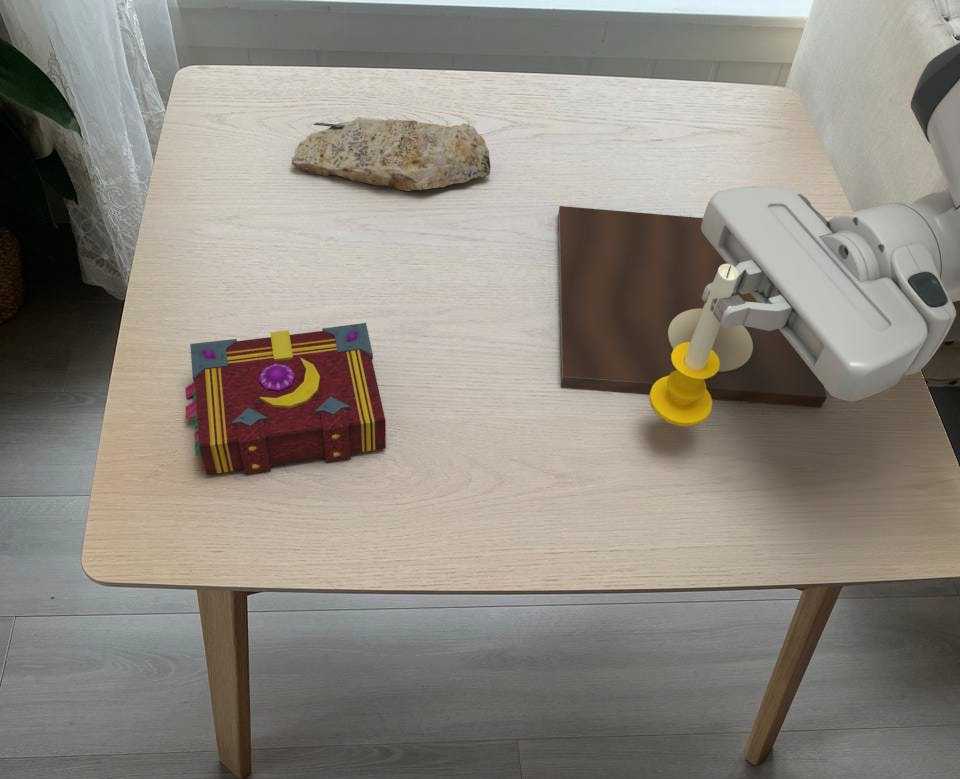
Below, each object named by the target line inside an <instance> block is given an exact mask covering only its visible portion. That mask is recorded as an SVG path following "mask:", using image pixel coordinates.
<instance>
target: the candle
mask: <svg viewBox="0 0 960 779" xmlns="http://www.w3.org/2000/svg"><path fill="white" fill-rule="evenodd" d="M737 277H738V271H737V269H736V268H735V267H734V266H732V265H730V264H723V265H721V266H720V267H719V269H718V272H717V274H716V276H715V278H714V281H713V283H712V286H711V288H710V295H709V297H708V300H707V302H706V303H705V305H704V307H703V310H702V313H701V316H700V318H699V321H698V324H697V327H696V329H695V332H694V335H693V337H692V340H691V342H686V343H682V344H680V345H678V346H676V347H675V348H674V350H673V352H672V354H671V360H672V363H673V365H674V367H675V368H676V369H677V370H675V371H674V372H672V373H671V374H670V375H669V376H666V377H662V378H661V379H659V380H657V381H656V382H655V384H654V385H653V386H652V389H651V391H650V394H649V398H648V399H649V403H650V406H651V409H652V410H653V411H654V413H655V414H656V415H657V416H658V417H659V418H661V419H662V420H664V421H666V422H667V423H669V424H672V425H674V426H679V427H693V426H696V425H699V424H701V423H703V422H704V421H706V420H707V419H708V417H709V416H710V414H711V411H712V408H713V399H711V396H710V393H709V392H708V391H707V389H706V384H705V381H704V379H707V378H710V377H712V376H714V375H715V374H716V373H717V372H718V370H719V367H720V361H719V358H718V356H717V355H716V353H715V352H714V351H713V350H712V346H713V344H714V341H715V338H716V336H717V333H718V330H719V328H720V325H721V324H720V323H719V321H718V320H717V318H716V317H715V316H714V310H716V304H717V302H718V301H720V300H721V299H723V298H730V297H731V295H732V293H733V290H734V287H735V283H736V280H737ZM715 298H717V301H716V303H715V304H713V306H714V309H713V312H712V311H711V310H710V308H711V303H712V300H713V299H715Z"/></svg>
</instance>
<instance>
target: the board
mask: <svg viewBox="0 0 960 779" xmlns="http://www.w3.org/2000/svg"><path fill="white" fill-rule="evenodd" d="M702 220H703V217H695V216H687V215H686V216H683V215H675V214H674V215H673V214H672V215H671V214H662V213H661V214H660V213H650V212H649V213H648V212H636V211H635V212H634V211H626V210H625V211H624V210H615V209H613V210H612V209H602V208H601V209H600V208H589V207H588V208H587V207H579V206H578V207H576V206H566V205H565V206H564V205H559V207H558V213H557V247H558V248H557V252H558V253H557V254H558V255H557V256H558V296H559V297H558V305H559V306H558V307H559V308H558V309H559V311H558V312H559V352H560V353H559V354H560V356H559V357H560V387H561V388H567V389H577V390H578V389H579V390H592V391H603V392H605V391H606V392H618V393H630V394H642V395H643V394H644V395H650V391H651V389H652V386H653V385H654V384H655V382H656V381H657V380H659V379H661V378H662V377H666V376H669V375H670V374H671V373H672V372H674V371H675V370H677V369H676V368H675V367H674V365H673V363H672V360H671V354H672V352H673V350H674V348H675V347H676V346H678V345H680V344H682V343H686V342H691V340H692V337H693V335H694V332H695V329H696V327H697V324H698V321H699V318H700V316H701V313H702V310H703V307H704V305H705V302H704V301H703V300H702V295H703V292H704V289H705V287H706V286H707V285H708V284H710V283H713V281H714V278H715V276H716V274H717V272H718V269H719V267H720V266H721V265H723V264H727V263H726V262H725V261H724V259H723V258H722V257H721V256H720V254H719V253H718V252H717V251H716V249H715V248H714V247H713V246H712V244H711V243H710V242H709V241H708V239H707V238H706V237H705V235H704V234H703V233H702V231H701V224H702ZM738 290H739V289H738ZM738 290H736V292H737V293H736V295H740V297H741V298H742V299H743V300H744V301H745V302H755V303H758V302H757V301H756V300H755V298H754V297H753V296H752V295H751V293H747V294H743V295H742V294H740V292H739V291H738ZM712 350H713V351H714V352H715V353H716V355H717V356H718V358H719V361H720V367H719V370H718V372H717V373H716V374H715V375H714V376H712V377H710V378H707V379H704V381H705V384H706V389H707V391H708V392H709V393H710V396H711V399H712V400H719V401H731V402H732V401H733V402H746V403H757V404H770V405H783V406H795V407H809V408H822V407H823V406H824V403H825V401H827V398H828V397H827V393H826V388H825V387H824V386H823V384H822V383H821V382H820V380H819V379H818V378H817V377H816V375H815V374H814V373H813V372H812V370H811V369H810V368H809V367H808V365H807V364H806V363H805V362H804V360H803V359H802V358H801V357H800V355H799V354H798V353H797V351H796V350H795V349H794V348H793V346H792V345H791V344H790V343H789V341H788V340H787V339H786V338H785V336H784V335H783V334H782V333H781V331H780V330H779V329H775V330H771V331H767V330H762V329H757V328H752V327H747V326H743V325H739V326H735V327H731V328H727V329H724V328H723V326H722V325H720V328H719V330H718V333H717V336H716V338H715V341H714V344H713V346H712Z"/></svg>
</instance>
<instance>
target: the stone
mask: <svg viewBox="0 0 960 779" xmlns="http://www.w3.org/2000/svg"><path fill="white" fill-rule="evenodd" d="M313 126H321V127H328V128H327V129H324V130H318V131H316V132H312V133H310V134H309V135H307V136H306V138H305V139H304V140H302V141H300V142H299V143H298V145H297V146H296V147H295V149H294V156H293V157H291V165H292V166H294V167H296V168H298V169H299V170H300V171H304V172H306V173H311V174H314V175H317V176H321V177H325V176H326V177H327V176H330V175H331V176H338V177H342V178H345V179H348V180H351V181H353V182H356V183H357V182H358V183H365V184H369V185H373V186H385V187H389V188H393V189H398V190H400V191H406V192H411V191H413V190H419V191H422V190H429V189H434V188H435V189H436V188H445V187H446V186H451V185H453V184H463V183H467V182H469V181H470V180H472V179H477V178H483V177H486V176H489V175H490V174H491V169H492V168H491V159H490V151H489V148H488V147H487V144H486V140H485V138H484V137H483V136H482V135H481V134H479V133H478V131H477V130H476V128H475V127H474V126H472V125H471V124H468V123H464V122H463V123H461V124H460V125H459V124H455V125H451V126H446V125H443V124H439V123H428V122H421V121H417V120H411V119H410V120H404V119H393V118H390V119H380V118H364V117H356V118H355V119H353V120H351V121H344V122H339V123H337V124H336V123H325V122H315V123H313Z"/></svg>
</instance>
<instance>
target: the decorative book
mask: <svg viewBox="0 0 960 779" xmlns="http://www.w3.org/2000/svg"><path fill="white" fill-rule="evenodd" d="M367 325H368V324H367V322H361V323H360V322H359V323H353V324H348V325H347V324H345V325H339V326H331V327H323V328H322V330H319V331H311V332H302V333H294V334H290V330H289V329H285V330H279V331H270V333H269V334H270V336H268V337H260V338H252V339H245V340H244V339H242V340H237V338H231V339H230V338H229V339H223V340H213V341H204V342H195V343H190V344H189V345H190V346H189V347H190V359H191V360H190V361H191V372H192V373H191V375H192V381H193V382H192V383H191V384H189V385H187V386H186V387H185V400H188V399H189V398H191V397H192V402H190V403H188V404H187V405H185V407H184V408H185V419H186V420H187V419H189V418H190V417H191V416H193V415H194V414H195V413H196V414H197V415H196V416H195V417H194V420H193V421H194V451H195V457H197V456H198V454H199V453H200V454H201V459H202V462H203V467H204V471H205V474H206V476H209V475H218V474H223V473H230V472H236V471H244V474H245V475H250V474H251V475H252V474H258V473H264V472H269V471H270V472H271V471H272V469H271V466H277V465H284V464H291V463H297V462H298V463H299V462H304V461H312V460H317V459H324V458H325V459H324V460H325V463H330V462H338V461H343V460H351V459H352V457H351V455H352V454H359V453H364V452H366V453H367V452H373V451H378V450H384V449H385V450H386V449H387V444H386V443H387V442H386V441H387V440H386V439H387V437H386V436H387V435H386V434H387V433H386V429H387V428H386V427H387V424H386V422H387V421H386V417H385V412H384V407H383V402H382V398H381V394H380V389H379V385H378V381H377V376H376V371H375V367H374V362H373V360H374V354H373V349H372V343H371V339H370V334H369V331H368V326H367Z"/></svg>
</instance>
